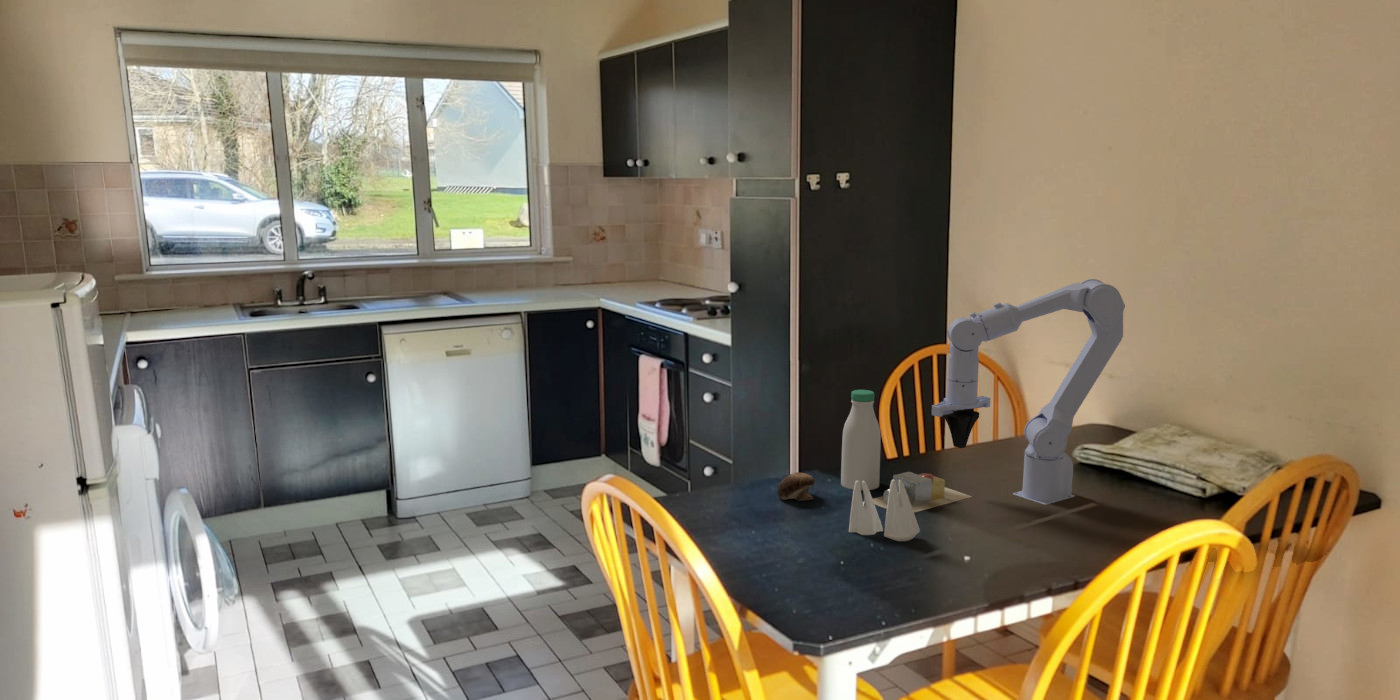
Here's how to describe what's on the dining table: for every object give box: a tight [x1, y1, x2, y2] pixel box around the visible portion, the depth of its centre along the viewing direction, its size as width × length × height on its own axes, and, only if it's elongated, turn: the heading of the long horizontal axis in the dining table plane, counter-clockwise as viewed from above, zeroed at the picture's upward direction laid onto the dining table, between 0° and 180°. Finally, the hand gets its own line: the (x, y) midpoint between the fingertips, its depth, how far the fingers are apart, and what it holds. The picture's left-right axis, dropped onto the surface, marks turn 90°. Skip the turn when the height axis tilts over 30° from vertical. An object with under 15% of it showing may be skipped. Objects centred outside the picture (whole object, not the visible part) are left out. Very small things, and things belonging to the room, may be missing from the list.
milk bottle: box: [840, 389, 882, 491], centre depth 198 cm, size 8×8×20 cm
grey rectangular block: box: [882, 471, 932, 507], centre depth 188 cm, size 8×6×5 cm
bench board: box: [872, 486, 973, 514], centre depth 191 cm, size 19×10×1 cm, turn 124°
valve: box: [918, 472, 946, 501], centre depth 191 cm, size 8×4×4 cm, turn 124°
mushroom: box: [777, 472, 816, 502], centre depth 191 cm, size 8×8×6 cm
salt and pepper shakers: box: [848, 478, 921, 542], centre depth 171 cm, size 12×4×11 cm, turn 59°
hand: (959, 446), depth 194 cm, fingers closed
